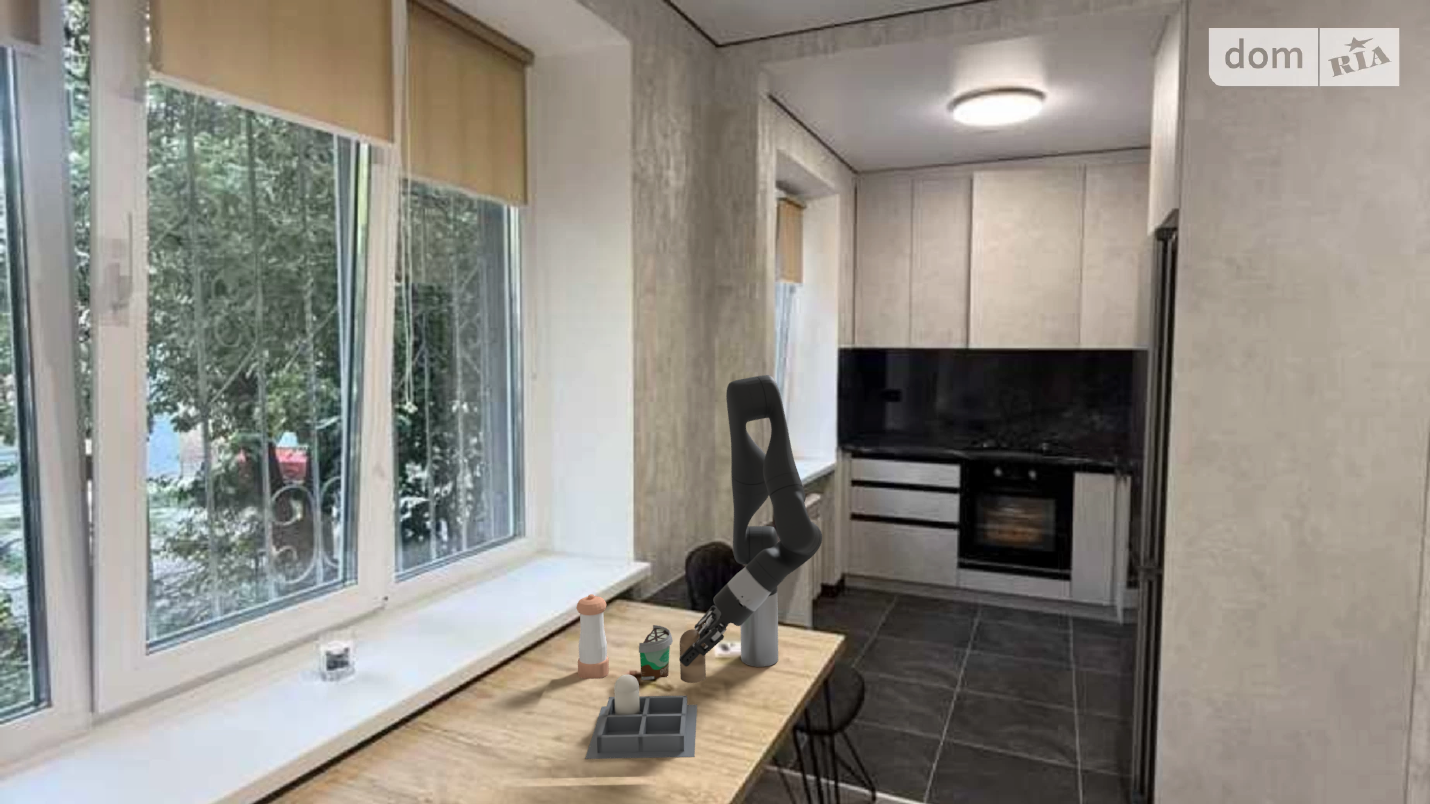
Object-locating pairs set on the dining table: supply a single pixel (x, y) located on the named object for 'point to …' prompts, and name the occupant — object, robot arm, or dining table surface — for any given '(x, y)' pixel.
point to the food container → (655, 653)
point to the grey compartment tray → (646, 730)
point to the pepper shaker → (592, 639)
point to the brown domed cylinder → (697, 666)
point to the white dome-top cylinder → (627, 696)
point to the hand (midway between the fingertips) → (683, 656)
